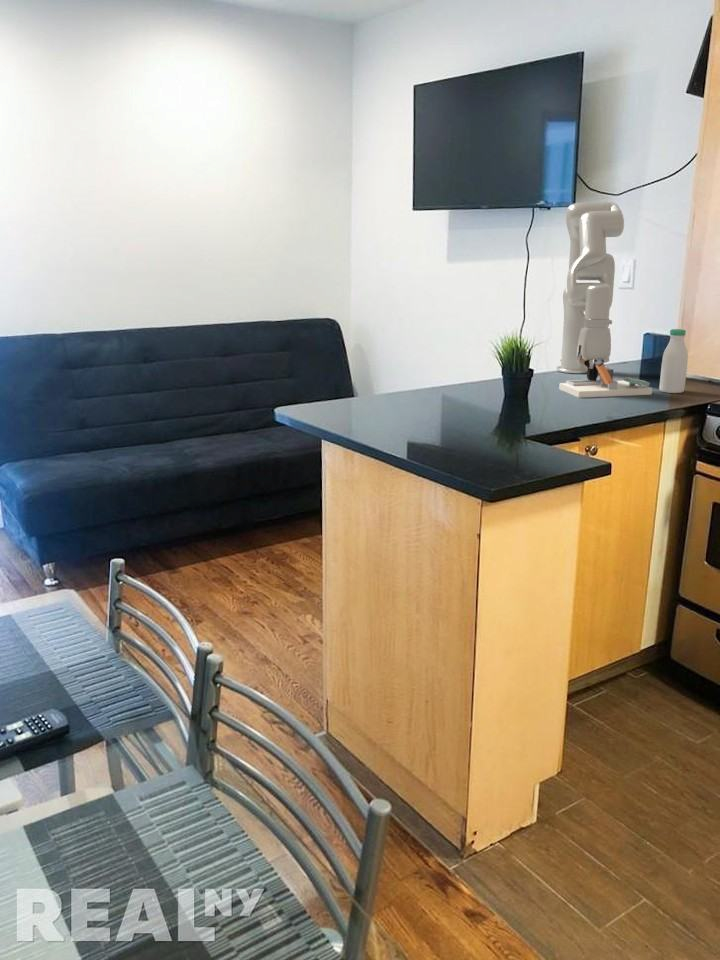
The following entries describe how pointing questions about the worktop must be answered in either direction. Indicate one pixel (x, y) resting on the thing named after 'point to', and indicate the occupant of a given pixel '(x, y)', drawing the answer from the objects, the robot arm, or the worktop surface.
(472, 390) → the worktop surface
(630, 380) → the rocker
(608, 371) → the slider
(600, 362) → the lever
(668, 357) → the milk bottle
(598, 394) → the panel
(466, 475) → the worktop surface
